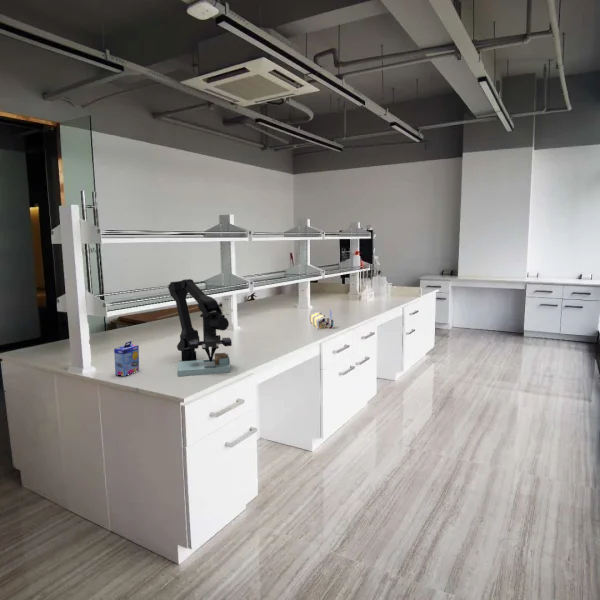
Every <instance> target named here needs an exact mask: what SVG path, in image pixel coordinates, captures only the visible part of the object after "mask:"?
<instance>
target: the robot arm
mask: <svg viewBox="0 0 600 600" xmlns="http://www.w3.org/2000/svg"><path fill="white" fill-rule="evenodd" d="M167 288H168V291H169V294H170V297H171V298H173V300H174V301H175V304H176V309H177V313H178V319H179V321H180V327H181V332H180V335H179V341H178V343H177V345H176V348H177V351H180V353H181V354H180V355H181V361H195V360H198V359H197V351H196V349H197V350H198V349H199V347H200V346H201V349H202V350H204V351H205V353H206V355H207V357H208V360H210V362H212V359H214V357H215V355H214V353H216V350H217V349H219V348H220V347H219V346H220V345H223V346H224V347H232V338H231V337H222V338H221V335H219V334H217V331H222V332H223V331H226V330H227V329H228V328H229V325H230V324H229V323H230V322H229V320H228V318H226V317H225V316H226V315H225V314H223V312H222V310H221V307H220V305H219V304H218V301H217V300H216V299H215V298H213V297H212V296H210V295H207V294H205V292H204V291H203V290H202V289H201V288H199V286H198V285H197V284H196V283H195V281H194V280H193V279H191V278H189V279H186V278H185V279H182V280H180V281H179V280H178V281H171V282H170V283H169V284H168V287H167ZM188 294H189V295H190V296H191V297H192V298H193V299H194V300H195V301H196V302H197V308H198V309H199V311H200V312H201V314H200V315H199V317H200V318H202V331H203V332H202V333H203V335H202V337H203V340H201V341H200V335H199V331H198V330H197V329H195V328H193V324H192V320H191V315H190V309H189V306H188V302H187V296H188Z"/></svg>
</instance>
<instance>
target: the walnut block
mask: <svg viewBox="0 0 600 600" xmlns="http://www.w3.org/2000/svg"><path fill="white" fill-rule="evenodd" d="M226 354H227V352H215V353H214V359H215V365H219V359H222V358H226Z"/></svg>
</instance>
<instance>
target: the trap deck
mask: <svg viewBox="0 0 600 600" xmlns="http://www.w3.org/2000/svg"><path fill="white" fill-rule="evenodd" d="M230 362H231V361H230V356H229V353H226V358H222V359H219V365H215V358H213V359H212V362H210V360H209V359H197V360H195V361H182V360H181V361H178V362H177V371H176V372H177V377H178V376H179V377H189V375H192V376H202V375H201V374H204V375H214V374H228V372H230V373H231V364H230Z"/></svg>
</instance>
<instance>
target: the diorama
mask: <svg viewBox="0 0 600 600" xmlns="http://www.w3.org/2000/svg"><path fill="white" fill-rule="evenodd" d="M332 314H333V312H332V309H331V308H329V316H328V315H327V314H325V313H323V312H321V311H313V312H312V313H310V314H309V315H308V318H309V320H308V321H309V322H310V324H312V325H313V324H314V325H315V326H314V325H313V326H314V327H316V328H317V329H318V330H319V329H320V330H321V328H320V323H322V322H323V323H322V324H325V326H326V327H329V329H331V330H333V329H334V326H335V325H334V324H335V321H334V319H333V316H332ZM329 325H330V326H329Z"/></svg>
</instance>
